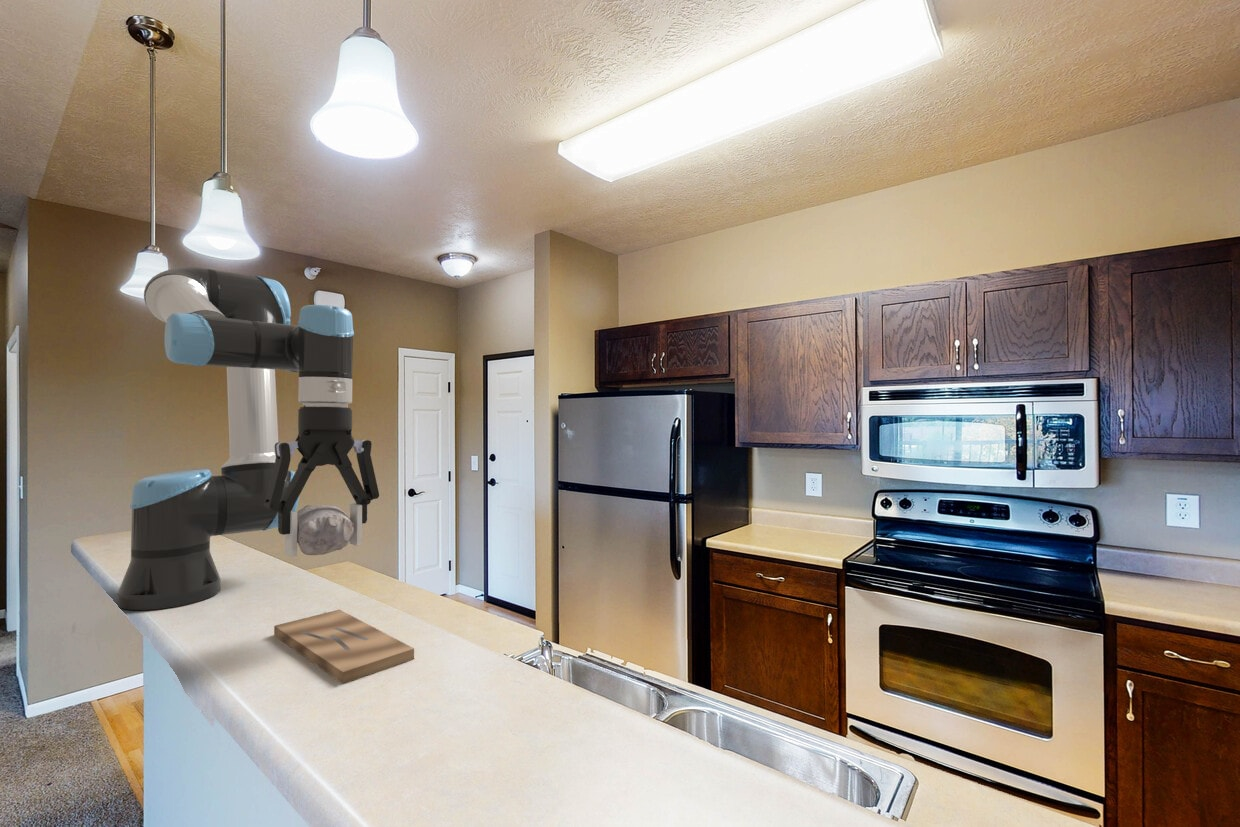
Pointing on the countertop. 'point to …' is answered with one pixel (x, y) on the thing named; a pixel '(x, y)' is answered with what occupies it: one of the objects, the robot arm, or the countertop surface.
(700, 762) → the countertop surface
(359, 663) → the board
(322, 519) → the stone
